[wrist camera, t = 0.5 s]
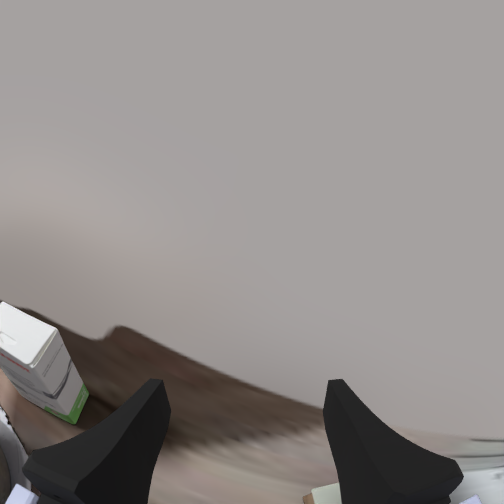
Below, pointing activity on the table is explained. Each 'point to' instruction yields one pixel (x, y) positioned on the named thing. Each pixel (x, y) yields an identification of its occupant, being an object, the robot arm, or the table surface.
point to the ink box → (40, 364)
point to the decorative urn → (10, 460)
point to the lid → (327, 494)
